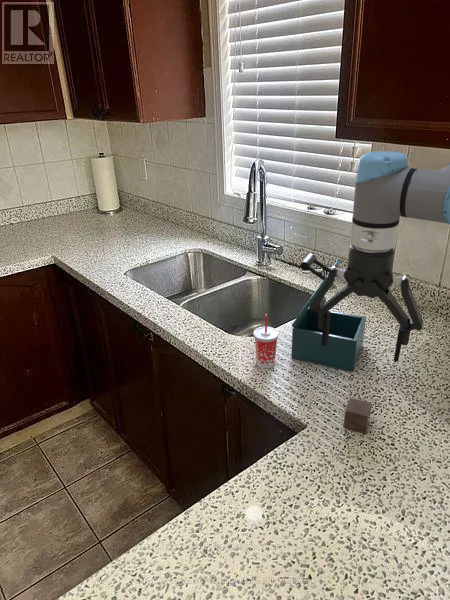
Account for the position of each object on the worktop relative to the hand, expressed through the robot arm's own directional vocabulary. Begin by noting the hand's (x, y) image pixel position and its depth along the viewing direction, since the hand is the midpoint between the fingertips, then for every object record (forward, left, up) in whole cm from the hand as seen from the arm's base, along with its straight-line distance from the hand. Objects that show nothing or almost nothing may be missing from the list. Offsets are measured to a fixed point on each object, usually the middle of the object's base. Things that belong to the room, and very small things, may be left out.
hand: (359, 350), depth 87 cm
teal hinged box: (+11, -22, -17) cm, 30 cm away
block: (-1, +2, -17) cm, 17 cm away
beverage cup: (+24, -11, -17) cm, 31 cm away
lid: (+14, -22, -1) cm, 27 cm away
